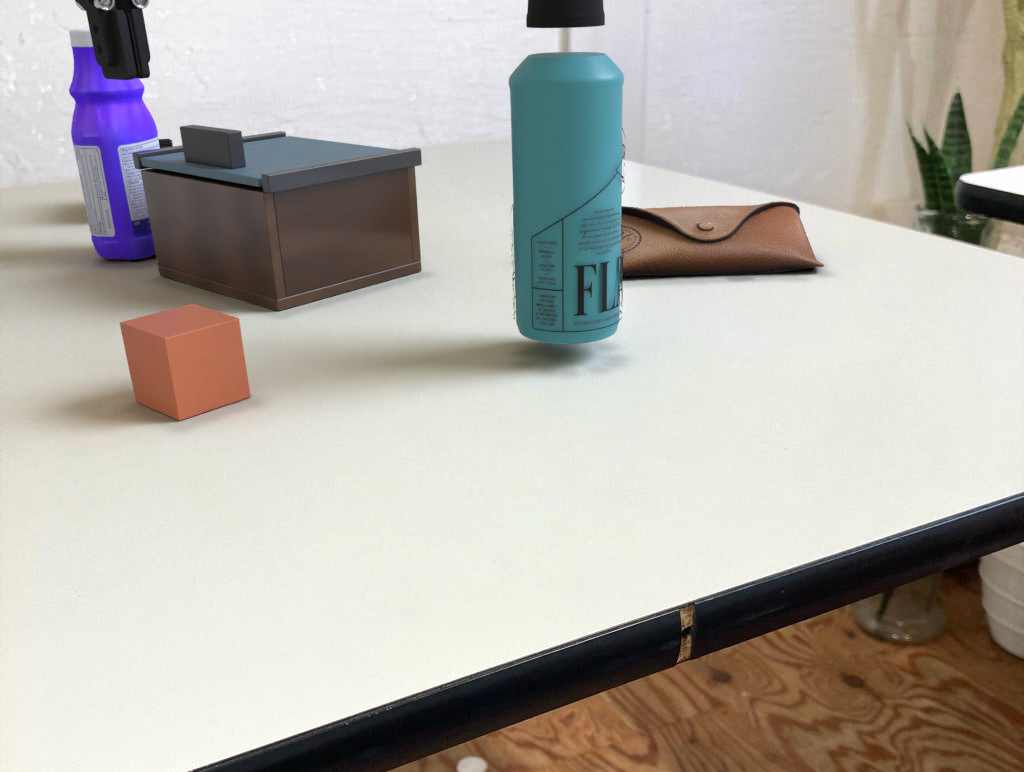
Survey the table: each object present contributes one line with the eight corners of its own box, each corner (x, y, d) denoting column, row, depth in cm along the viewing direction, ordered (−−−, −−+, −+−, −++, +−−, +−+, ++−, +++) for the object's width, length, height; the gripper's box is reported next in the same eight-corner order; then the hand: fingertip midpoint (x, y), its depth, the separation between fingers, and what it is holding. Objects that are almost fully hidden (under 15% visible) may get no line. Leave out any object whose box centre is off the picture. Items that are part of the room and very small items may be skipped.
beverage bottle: (575, 378, 59) (576, -19, 50) (490, 354, 63) (476, -17, 54) (643, 348, 63) (656, -22, 54) (560, 328, 67) (558, -20, 58)
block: (135, 401, 57) (118, 322, 55) (205, 379, 60) (192, 303, 58) (179, 421, 55) (164, 338, 53) (251, 397, 58) (239, 317, 55)
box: (153, 274, 82) (131, 152, 78) (293, 242, 91) (280, 131, 87) (285, 313, 72) (267, 175, 67) (429, 272, 80) (421, 148, 76)
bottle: (129, 243, 92) (87, 26, 84) (188, 244, 91) (152, 25, 83) (83, 263, 86) (33, 31, 78) (146, 265, 85) (102, 30, 77)
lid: (142, 166, 78) (134, 123, 76) (290, 143, 86) (285, 104, 85) (258, 187, 69) (252, 139, 67) (411, 159, 77) (408, 116, 76)
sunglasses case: (592, 277, 76) (586, 187, 76) (580, 302, 83) (575, 220, 83) (833, 266, 77) (826, 178, 77) (802, 292, 84) (796, 211, 84)
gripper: (145, -247, 66) (196, 67, 74) (-104, -277, 56) (-14, 87, 65) (211, -267, 61) (257, 70, 70) (-48, -304, 52) (42, 92, 60)
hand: (127, 77), depth 67 cm, fingers closed
